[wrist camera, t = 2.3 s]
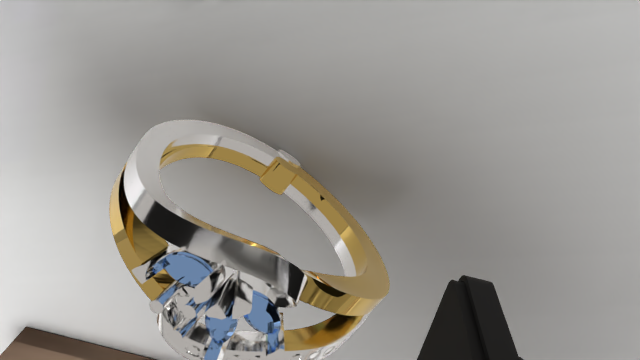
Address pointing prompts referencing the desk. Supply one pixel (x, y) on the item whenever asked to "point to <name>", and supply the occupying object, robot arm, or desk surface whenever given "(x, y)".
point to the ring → (237, 254)
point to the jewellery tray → (59, 348)
